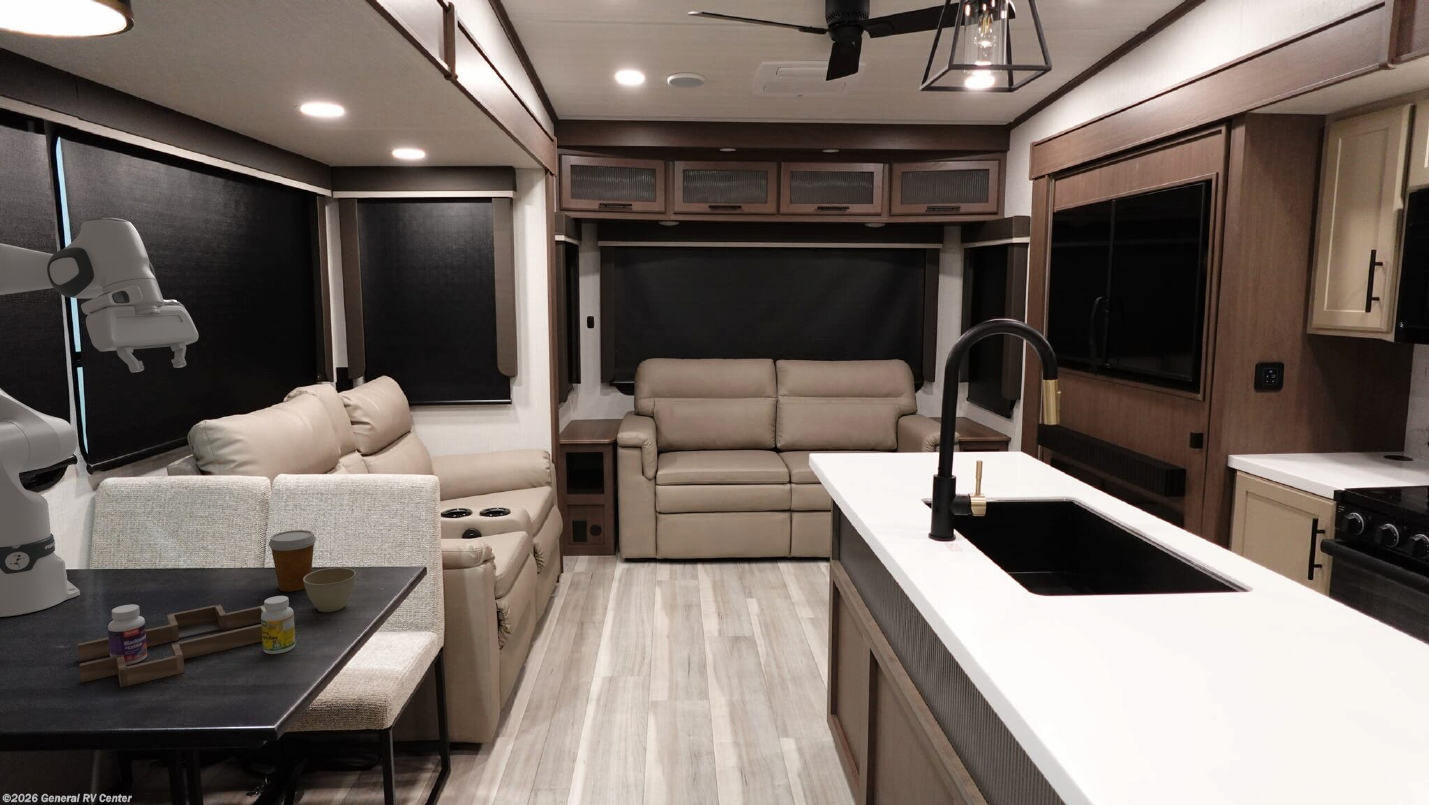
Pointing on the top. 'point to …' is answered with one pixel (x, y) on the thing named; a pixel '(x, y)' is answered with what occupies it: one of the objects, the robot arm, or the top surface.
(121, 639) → the pill bottle
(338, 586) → the flower pot
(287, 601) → the supplement bottle
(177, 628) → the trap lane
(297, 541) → the disposable coffee cup
